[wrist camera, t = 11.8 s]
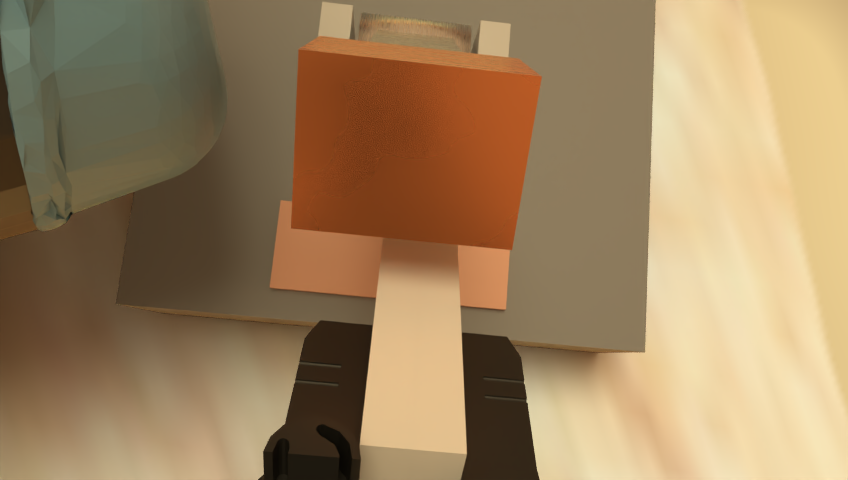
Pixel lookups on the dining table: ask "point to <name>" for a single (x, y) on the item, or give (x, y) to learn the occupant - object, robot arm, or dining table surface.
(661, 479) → the dining table surface
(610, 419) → the dining table surface
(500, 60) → the lever
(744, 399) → the dining table surface
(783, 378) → the dining table surface
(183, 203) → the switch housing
